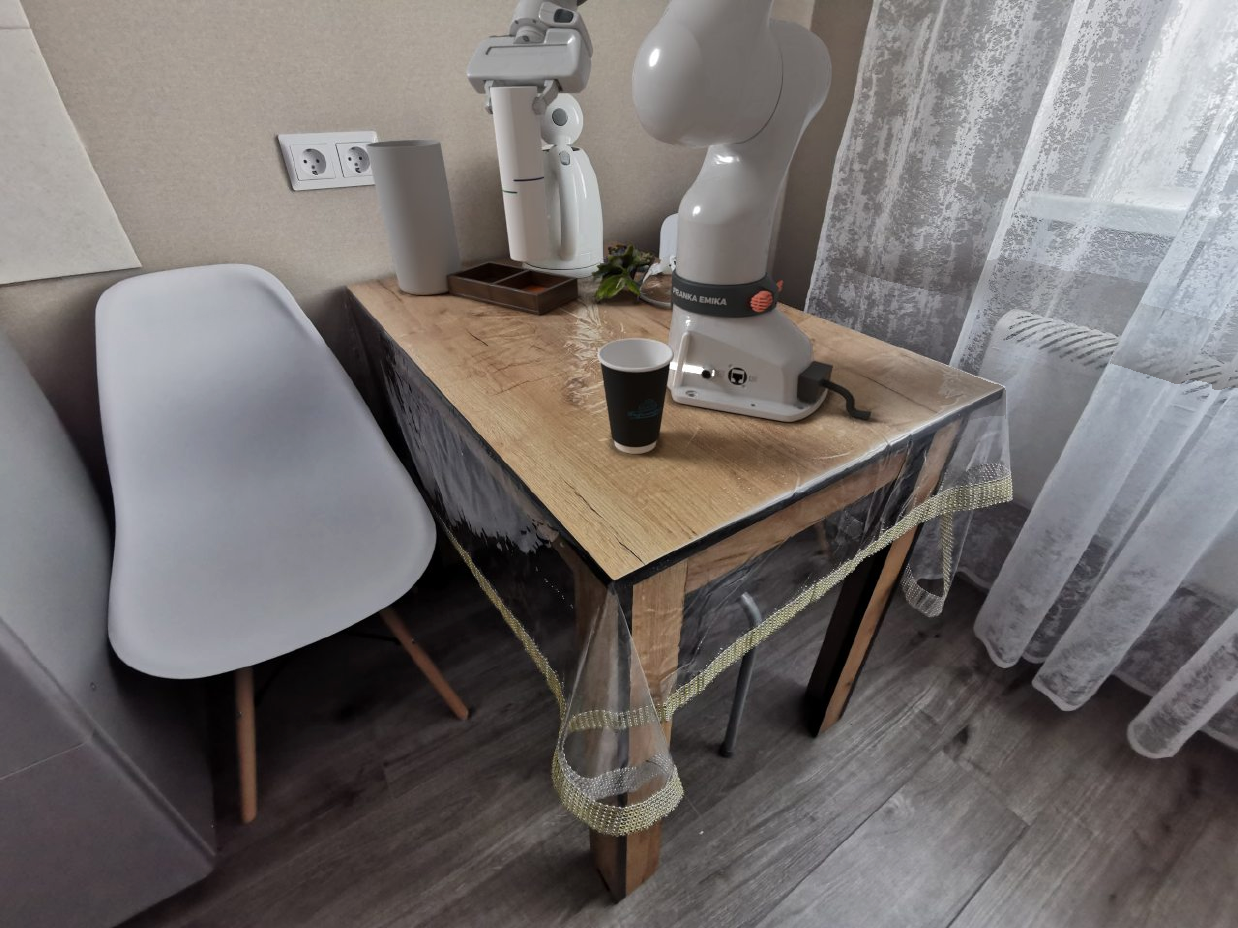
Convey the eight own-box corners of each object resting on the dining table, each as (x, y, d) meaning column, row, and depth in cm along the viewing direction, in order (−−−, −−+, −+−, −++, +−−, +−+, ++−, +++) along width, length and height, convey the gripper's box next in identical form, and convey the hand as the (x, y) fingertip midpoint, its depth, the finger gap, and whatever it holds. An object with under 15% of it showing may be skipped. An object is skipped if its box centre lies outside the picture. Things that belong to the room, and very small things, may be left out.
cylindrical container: (548, 261, 97) (533, 87, 82) (507, 261, 97) (485, 88, 82) (552, 250, 102) (539, 86, 88) (514, 250, 103) (495, 87, 88)
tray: (578, 296, 106) (577, 277, 104) (539, 315, 98) (537, 295, 96) (491, 278, 116) (489, 261, 114) (449, 294, 108) (446, 275, 106)
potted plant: (618, 318, 111) (640, 260, 110) (652, 324, 103) (676, 261, 102) (573, 294, 104) (596, 232, 103) (606, 298, 96) (631, 231, 95)
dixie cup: (646, 470, 59) (648, 376, 53) (586, 448, 63) (581, 357, 57) (682, 436, 65) (688, 347, 58) (625, 418, 68) (624, 332, 62)
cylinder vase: (390, 285, 113) (355, 143, 99) (447, 273, 119) (422, 138, 105) (415, 300, 105) (381, 149, 91) (475, 286, 111) (452, 143, 97)
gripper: (473, 19, 89) (447, 95, 87) (590, 13, 82) (564, 94, 80) (492, 54, 95) (468, 126, 93) (602, 51, 88) (579, 128, 86)
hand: (514, 111), depth 87 cm, fingers closed on cylindrical container, 7 cm apart
